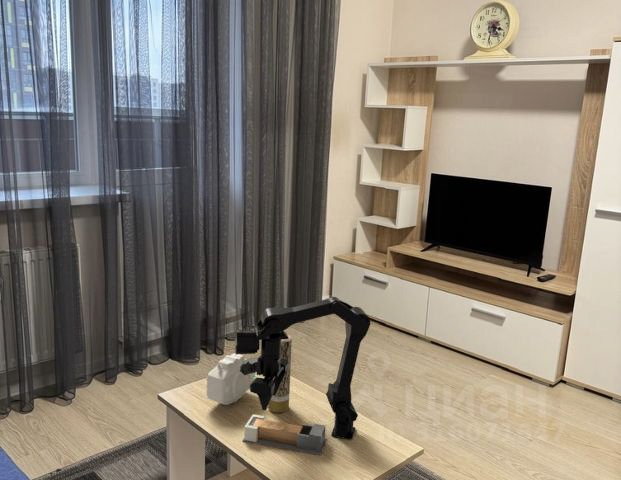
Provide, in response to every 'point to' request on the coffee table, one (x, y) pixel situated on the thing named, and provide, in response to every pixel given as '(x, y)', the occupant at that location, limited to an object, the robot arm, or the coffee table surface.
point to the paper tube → (283, 381)
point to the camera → (228, 380)
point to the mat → (284, 445)
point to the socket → (252, 429)
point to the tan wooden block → (277, 431)
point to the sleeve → (311, 437)
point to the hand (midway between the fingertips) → (269, 402)
